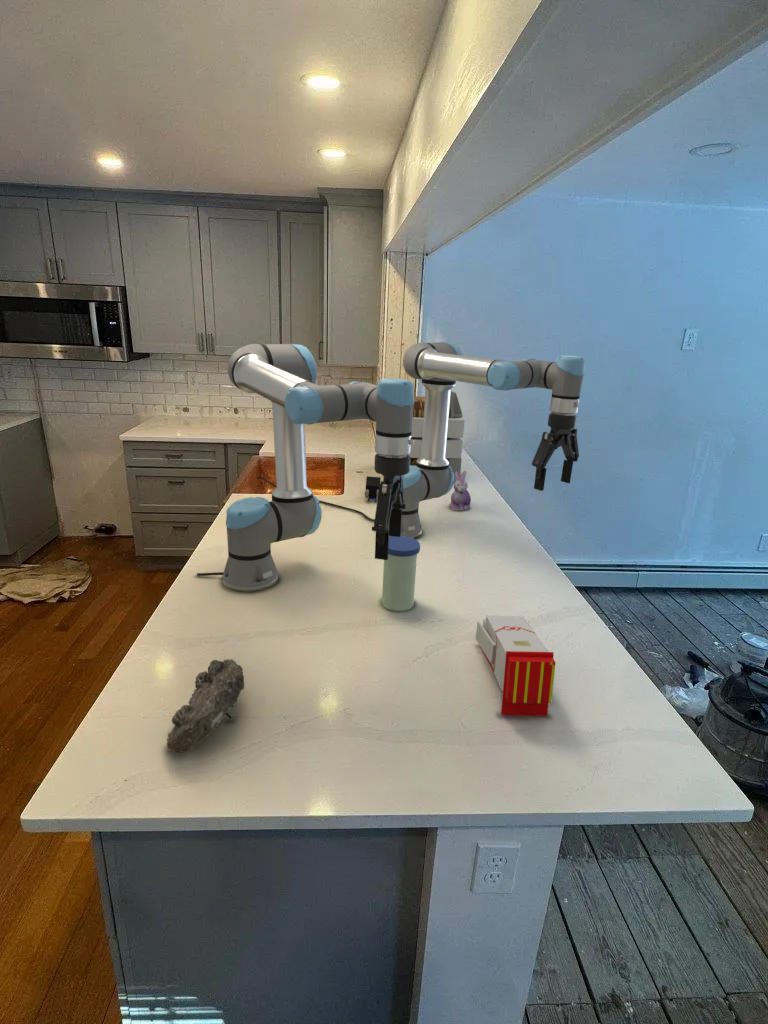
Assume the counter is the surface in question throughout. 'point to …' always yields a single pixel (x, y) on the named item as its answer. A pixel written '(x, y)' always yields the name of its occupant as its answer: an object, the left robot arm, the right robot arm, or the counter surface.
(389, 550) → the lid
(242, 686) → the fossil
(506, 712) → the toy
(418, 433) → the grey boxy piece
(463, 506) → the figurine
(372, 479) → the figurine character
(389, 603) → the jar
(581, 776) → the counter surface
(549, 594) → the counter surface
